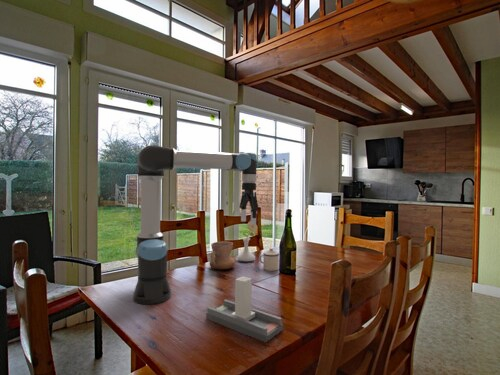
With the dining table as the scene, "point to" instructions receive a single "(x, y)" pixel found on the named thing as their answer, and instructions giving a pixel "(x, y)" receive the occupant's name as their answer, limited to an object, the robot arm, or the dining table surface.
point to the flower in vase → (246, 254)
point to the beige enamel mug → (270, 260)
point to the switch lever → (243, 298)
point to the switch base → (257, 327)
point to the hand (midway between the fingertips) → (248, 222)
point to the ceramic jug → (222, 255)
